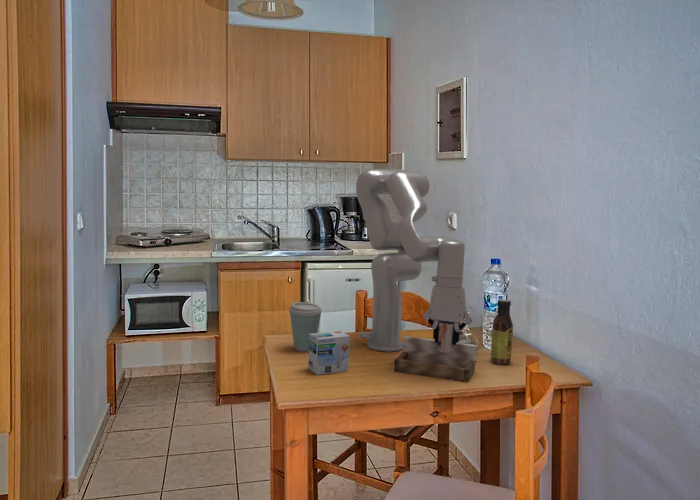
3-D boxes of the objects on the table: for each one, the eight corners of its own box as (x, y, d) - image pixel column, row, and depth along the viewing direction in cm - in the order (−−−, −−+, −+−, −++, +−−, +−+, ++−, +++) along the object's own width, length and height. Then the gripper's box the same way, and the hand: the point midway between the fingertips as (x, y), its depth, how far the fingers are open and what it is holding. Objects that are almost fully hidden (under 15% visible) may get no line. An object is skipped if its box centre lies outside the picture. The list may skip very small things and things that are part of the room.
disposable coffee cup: (321, 345, 213) (322, 301, 211) (320, 354, 202) (321, 308, 200) (289, 344, 212) (290, 300, 210) (287, 353, 202) (288, 307, 200)
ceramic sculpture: (459, 337, 195) (431, 328, 208) (458, 365, 195) (430, 354, 209) (486, 334, 200) (457, 326, 213) (486, 361, 200) (457, 351, 214)
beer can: (435, 349, 190) (437, 310, 188) (451, 349, 190) (453, 310, 189) (438, 354, 185) (441, 314, 183) (454, 354, 186) (457, 314, 184)
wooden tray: (393, 371, 188) (395, 345, 187) (404, 361, 198) (405, 336, 197) (468, 382, 180) (469, 354, 179) (474, 371, 190) (476, 345, 189)
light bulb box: (316, 375, 182) (317, 339, 180) (307, 368, 188) (308, 333, 186) (349, 371, 187) (350, 335, 185) (339, 364, 193) (340, 329, 191)
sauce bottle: (511, 366, 196) (515, 303, 194) (490, 364, 198) (494, 301, 195) (510, 360, 203) (514, 299, 200) (490, 358, 204) (494, 297, 201)
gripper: (417, 281, 185) (414, 342, 187) (476, 287, 179) (472, 350, 181) (424, 277, 191) (421, 335, 194) (480, 283, 186) (476, 343, 188)
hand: (445, 342), depth 188 cm, fingers closed on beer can, 4 cm apart
